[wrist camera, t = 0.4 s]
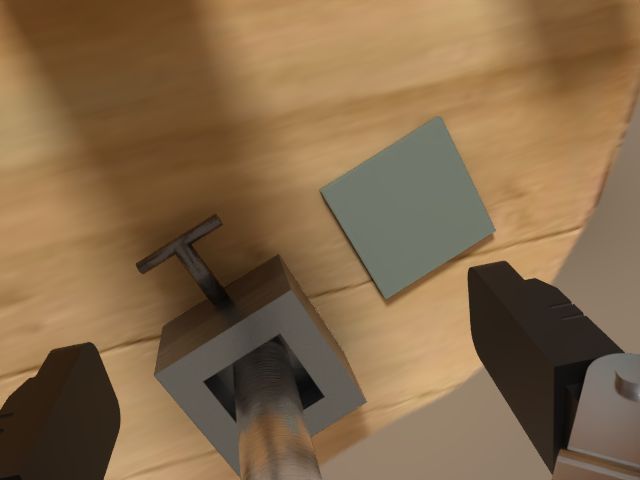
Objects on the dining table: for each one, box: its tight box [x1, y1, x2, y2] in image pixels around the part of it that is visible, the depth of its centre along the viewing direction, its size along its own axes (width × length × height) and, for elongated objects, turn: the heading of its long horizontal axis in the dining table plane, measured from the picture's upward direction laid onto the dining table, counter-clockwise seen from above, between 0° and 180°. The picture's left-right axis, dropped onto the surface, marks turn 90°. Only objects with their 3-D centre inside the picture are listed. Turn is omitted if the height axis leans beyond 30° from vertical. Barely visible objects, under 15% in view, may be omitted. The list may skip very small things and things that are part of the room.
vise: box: [136, 214, 367, 478], centre depth 31 cm, size 12×8×6 cm, turn 30°
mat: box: [320, 116, 496, 299], centre depth 33 cm, size 8×8×1 cm
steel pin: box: [233, 340, 322, 480], centre depth 25 cm, size 3×3×14 cm
